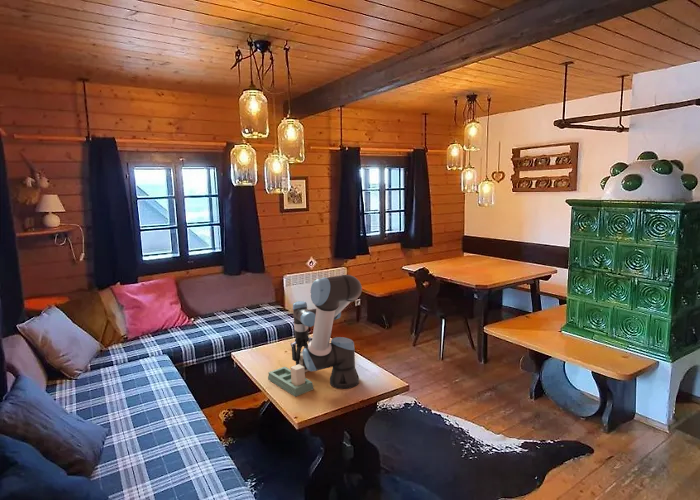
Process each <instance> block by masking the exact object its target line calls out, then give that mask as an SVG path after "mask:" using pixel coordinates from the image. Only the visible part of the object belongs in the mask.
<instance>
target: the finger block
mask: <svg viewBox="0 0 700 500" xmlns="http://www.w3.org/2000/svg"><path fill="white" fill-rule="evenodd" d="M300 361H301V366H303V367H305V373H307V372H310V371H309V370H308V369H307V367H306V365H305V362H304V359H303V350H301V353H300Z"/></svg>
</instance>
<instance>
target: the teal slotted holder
mask: <svg viewBox="0 0 700 500" xmlns="http://www.w3.org/2000/svg"><path fill="white" fill-rule="evenodd" d="M267 379H268V381H269V382H272V383H273V384H275V385H276V386H277V387H279V388H280V389H282V390H284V391H285V392H287V393H288V394H290V396H293V397H295V398H296V397H298V396H301V395H303V394H306V393H308V392H311V391H313V390H315V389H314V385H313V384H314V383H313V381H311V380H310V379H308V378H306V372H305V367H303V366H301V365H300V364H298V365H296V364H295V365H293V366H290V368H288V367H286V366H282V367H279V368H277V369H274V370H272V371H269V372H268V376H267Z"/></svg>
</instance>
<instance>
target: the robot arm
mask: <svg viewBox="0 0 700 500" xmlns="http://www.w3.org/2000/svg"><path fill="white" fill-rule="evenodd" d="M362 287H363V286H362V284H361V281H360V280H359V279H358V278H357V277H355V276H354V275H352V274H342V275H335V276H329V277H326V276H325V277H321V278H320V277H319V278H317V279H315V280H314V281H313V282H312V283H311V287H310V299H311V302H312V304H313V305H314V306H315V308H312V309H308V304H307V302H306V301H304V300H303V301H301V300H300V301H296V302H294V303H292V313H293V314H292V315H293V326H294V327H293V328H294V338H295V340H294V342H291V343H290V346H291V357H292V358H291V360H292V361H294V362H295V365H298V364H300V365H301V361H300V353H301V352H302V351H303V359H304V362H305V365H306V367H307V369H308V370H309V371H308V372H318V371H321V370H325V369H329V368H332V369H331V374H330V376H329V385H330V386H331V387H332V388H336V389H341V390H343V389H345V390H347V389H351V388H354V387H356V386H358V385H359V384H360V377H359V375H358V372H357V368H356V358H355V357H356V355H355V354H356V352H355V350H356V349H355V342H354V340H353V339H351V338H348V337H343V336H342V337H341V336H336V337H333V338H332V337H331V335H332V330H333V324H334V321H335V320H337V319H340V318H341V316H342V311H343V310H344V309H345V308H346V307H347V306H349V304H350V303H352V302H355V301H356V300H358V298H359V297H361V294H362V291H363V288H362ZM311 327H313V330H312V336H311V337H309V328H311ZM302 348H303V349H302Z"/></svg>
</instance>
